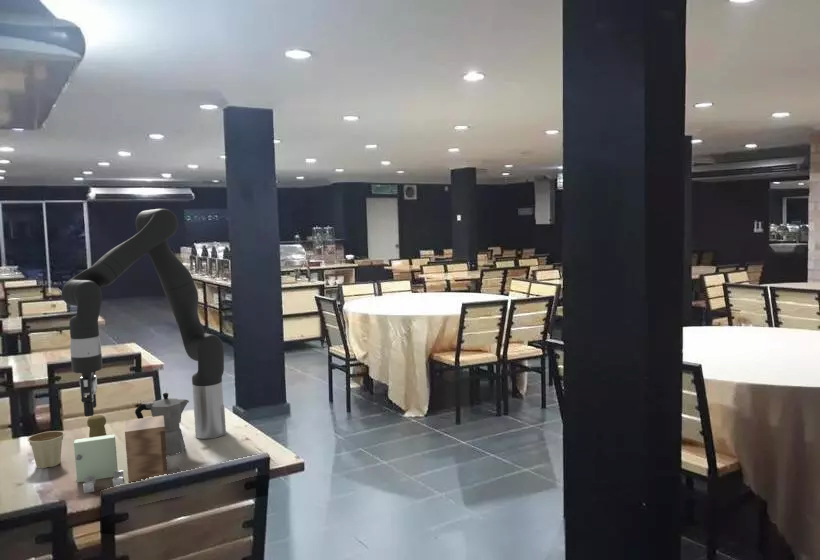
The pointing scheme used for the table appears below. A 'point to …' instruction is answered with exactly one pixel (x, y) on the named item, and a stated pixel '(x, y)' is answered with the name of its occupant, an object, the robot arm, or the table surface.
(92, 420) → the cork
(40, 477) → the table surface
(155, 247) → the robot arm
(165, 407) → the coffeepot
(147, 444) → the brown wooden box
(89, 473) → the door panel
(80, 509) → the table surface
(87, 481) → the small rectangular blocks
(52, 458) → the flower pot
